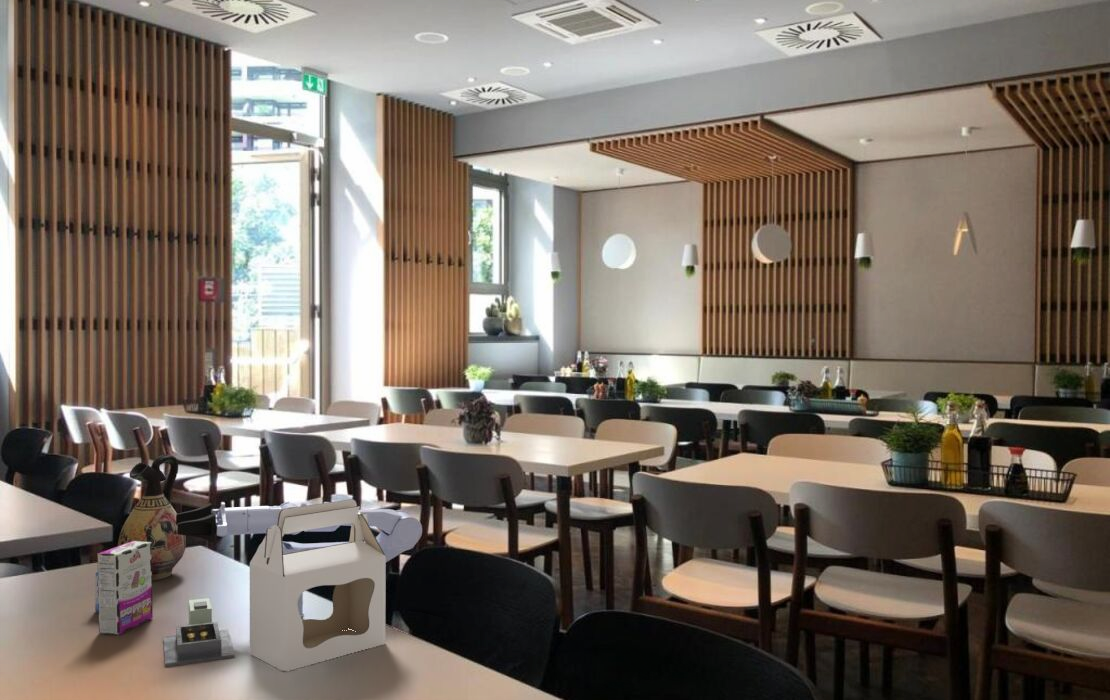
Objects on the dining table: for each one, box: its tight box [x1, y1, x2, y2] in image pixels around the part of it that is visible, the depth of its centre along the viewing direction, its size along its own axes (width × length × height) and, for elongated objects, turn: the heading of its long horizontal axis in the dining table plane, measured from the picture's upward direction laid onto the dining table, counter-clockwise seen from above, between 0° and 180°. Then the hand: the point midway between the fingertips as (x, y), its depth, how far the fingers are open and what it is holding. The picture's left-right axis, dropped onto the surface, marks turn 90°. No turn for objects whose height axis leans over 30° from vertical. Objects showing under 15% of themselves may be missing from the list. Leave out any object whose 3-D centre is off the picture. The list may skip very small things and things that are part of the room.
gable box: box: [249, 499, 387, 673], centre depth 179 cm, size 22×13×28 cm, turn 135°
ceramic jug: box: [117, 454, 187, 581], centre depth 231 cm, size 17×15×30 cm
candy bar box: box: [96, 541, 154, 636], centre depth 192 cm, size 11×5×16 cm, turn 168°
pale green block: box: [188, 597, 213, 625], centre depth 192 cm, size 4×8×6 cm, turn 24°
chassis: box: [163, 621, 236, 668], centre depth 179 cm, size 12×16×3 cm
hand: (176, 524), depth 192 cm, fingers open, 7 cm apart
